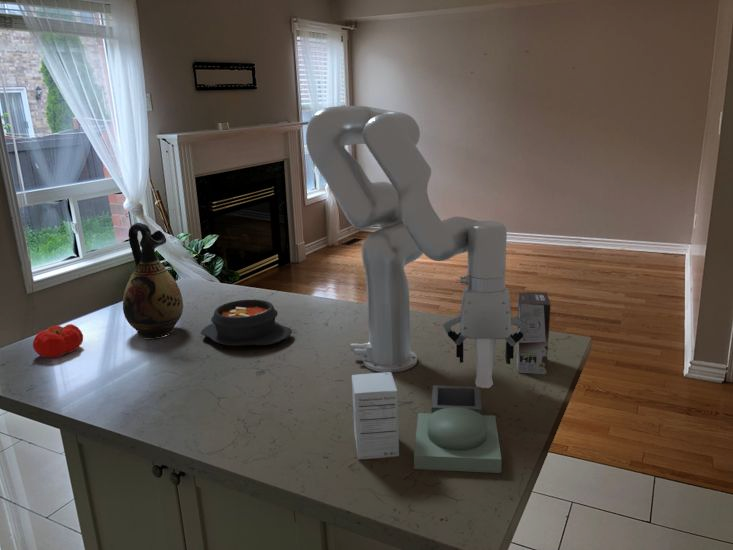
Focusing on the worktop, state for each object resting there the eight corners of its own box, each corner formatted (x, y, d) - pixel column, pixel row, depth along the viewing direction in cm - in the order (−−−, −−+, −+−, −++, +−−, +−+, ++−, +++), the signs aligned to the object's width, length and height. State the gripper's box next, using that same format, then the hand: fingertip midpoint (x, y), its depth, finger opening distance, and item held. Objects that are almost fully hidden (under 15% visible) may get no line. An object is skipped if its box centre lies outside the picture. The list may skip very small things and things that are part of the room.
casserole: (306, 332, 160) (304, 302, 158) (266, 358, 144) (263, 325, 142) (230, 320, 170) (227, 292, 168) (185, 344, 154) (181, 313, 152)
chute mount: (414, 468, 98) (413, 441, 97) (420, 403, 120) (420, 380, 118) (501, 473, 96) (501, 445, 95) (491, 405, 118) (492, 382, 117)
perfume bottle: (496, 380, 128) (498, 314, 124) (493, 389, 124) (495, 321, 120) (474, 378, 130) (475, 313, 126) (471, 387, 126) (472, 320, 122)
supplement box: (353, 437, 108) (350, 373, 105) (394, 434, 109) (392, 370, 105) (356, 460, 101) (353, 393, 98) (400, 457, 102) (398, 389, 98)
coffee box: (547, 374, 130) (551, 304, 126) (517, 373, 131) (519, 303, 127) (544, 357, 139) (547, 291, 134) (515, 356, 140) (518, 290, 136)
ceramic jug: (198, 328, 165) (185, 221, 157) (152, 347, 153) (136, 232, 145) (157, 318, 174) (144, 216, 166) (111, 335, 162) (93, 227, 154)
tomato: (28, 359, 148) (23, 335, 146) (61, 343, 158) (56, 320, 156) (61, 363, 146) (56, 338, 144) (92, 346, 156) (88, 322, 154)
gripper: (442, 288, 119) (442, 367, 123) (532, 288, 116) (528, 369, 121) (443, 277, 126) (443, 352, 130) (527, 277, 123) (524, 354, 128)
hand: (484, 360), depth 126 cm, fingers open, 9 cm apart
